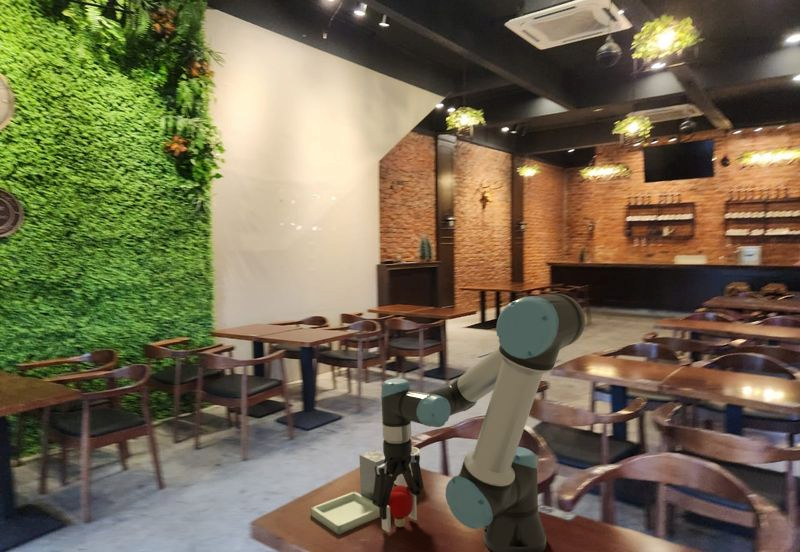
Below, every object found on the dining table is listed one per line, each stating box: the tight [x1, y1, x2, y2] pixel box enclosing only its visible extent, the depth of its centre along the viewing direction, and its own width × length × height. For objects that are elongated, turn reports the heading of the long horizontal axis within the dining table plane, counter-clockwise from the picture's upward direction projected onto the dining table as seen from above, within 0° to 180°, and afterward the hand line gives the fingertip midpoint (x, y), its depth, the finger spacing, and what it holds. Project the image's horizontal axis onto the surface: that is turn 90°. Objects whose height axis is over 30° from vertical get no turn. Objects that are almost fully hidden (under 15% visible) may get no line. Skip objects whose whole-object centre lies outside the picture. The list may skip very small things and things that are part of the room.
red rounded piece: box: [388, 486, 413, 529], centre depth 135 cm, size 9×7×10 cm
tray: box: [310, 490, 380, 535], centre depth 143 cm, size 14×15×2 cm
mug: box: [393, 446, 421, 489], centre depth 164 cm, size 11×9×10 cm
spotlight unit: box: [358, 449, 394, 501], centre depth 152 cm, size 10×7×13 cm
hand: (399, 523), depth 136 cm, fingers closed on red rounded piece, 8 cm apart
